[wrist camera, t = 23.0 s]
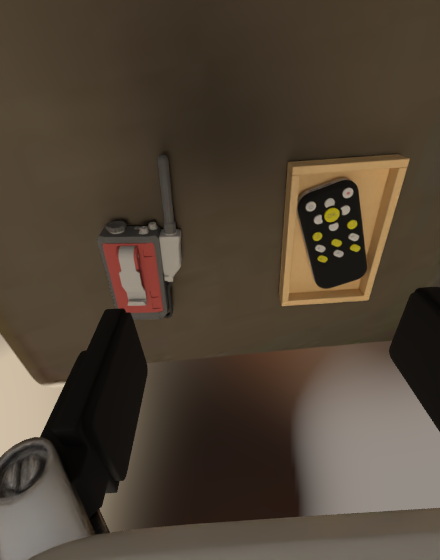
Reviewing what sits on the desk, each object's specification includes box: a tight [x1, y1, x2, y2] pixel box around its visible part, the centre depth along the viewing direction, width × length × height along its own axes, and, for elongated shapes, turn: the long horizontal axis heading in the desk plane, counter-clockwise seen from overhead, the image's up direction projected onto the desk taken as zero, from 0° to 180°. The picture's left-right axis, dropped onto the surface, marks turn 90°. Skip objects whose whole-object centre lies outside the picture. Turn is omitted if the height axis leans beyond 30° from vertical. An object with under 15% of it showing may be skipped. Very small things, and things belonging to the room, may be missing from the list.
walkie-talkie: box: [97, 155, 182, 319], centre depth 32 cm, size 9×4×20 cm
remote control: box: [297, 178, 367, 289], centre depth 33 cm, size 6×13×2 cm, turn 21°
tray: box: [279, 154, 409, 306], centre depth 33 cm, size 17×11×2 cm, turn 3°
